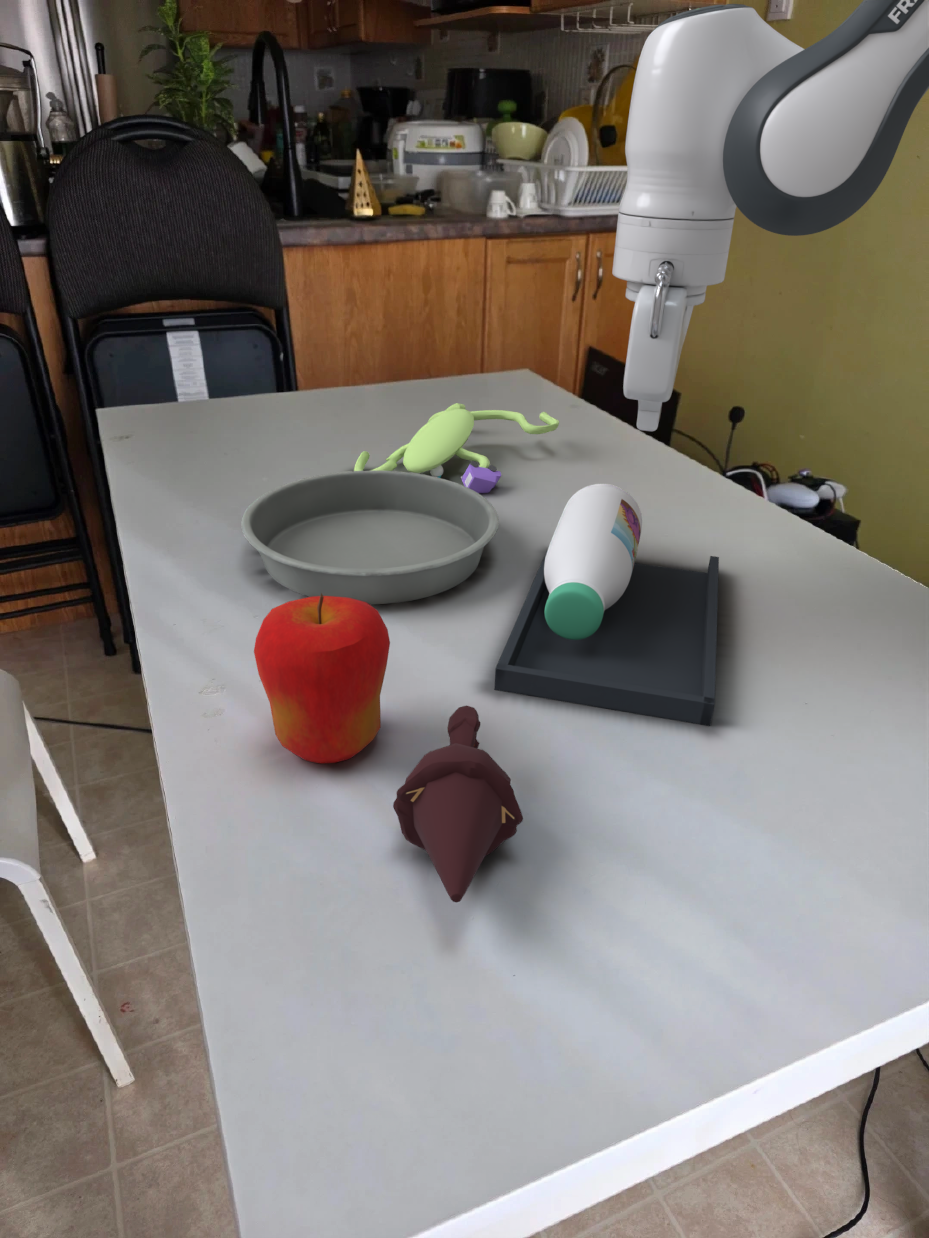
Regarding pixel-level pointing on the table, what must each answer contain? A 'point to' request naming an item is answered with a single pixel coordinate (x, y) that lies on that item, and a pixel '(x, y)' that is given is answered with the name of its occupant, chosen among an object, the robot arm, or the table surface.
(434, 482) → the cake pan
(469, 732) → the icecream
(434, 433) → the figurine
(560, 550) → the milk bottle
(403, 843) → the table surface
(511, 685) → the tray
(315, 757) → the apple
